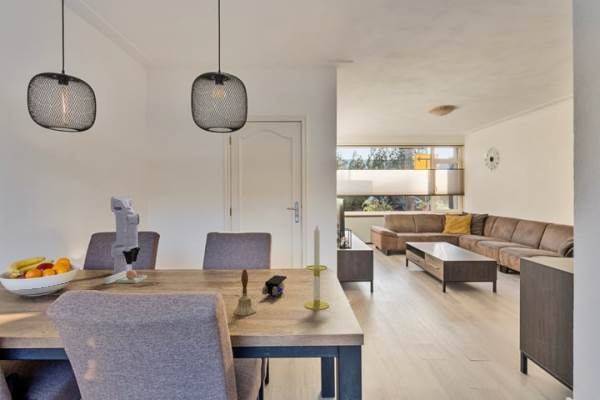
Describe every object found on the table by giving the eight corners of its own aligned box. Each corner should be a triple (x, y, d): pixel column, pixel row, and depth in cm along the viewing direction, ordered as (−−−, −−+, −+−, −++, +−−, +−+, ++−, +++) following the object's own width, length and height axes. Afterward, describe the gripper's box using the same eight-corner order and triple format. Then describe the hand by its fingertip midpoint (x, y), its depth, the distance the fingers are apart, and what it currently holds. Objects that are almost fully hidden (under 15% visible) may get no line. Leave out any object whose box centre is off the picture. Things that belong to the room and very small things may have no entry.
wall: (124, 276, 180) (124, 270, 180) (126, 276, 179) (126, 271, 179) (105, 283, 164) (105, 277, 164) (107, 283, 163) (107, 277, 163)
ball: (127, 279, 173) (127, 269, 173) (137, 278, 174) (137, 269, 174) (124, 280, 168) (124, 270, 168) (135, 279, 169) (135, 270, 169)
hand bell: (229, 311, 123) (229, 269, 123) (247, 306, 129) (247, 266, 129) (242, 317, 117) (241, 273, 117) (260, 311, 123) (260, 269, 123)
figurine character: (276, 304, 136) (287, 290, 151) (276, 286, 136) (287, 274, 150) (261, 302, 138) (274, 289, 153) (260, 285, 137) (273, 273, 152)
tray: (128, 277, 177) (128, 275, 177) (146, 278, 176) (146, 275, 176) (115, 282, 166) (115, 279, 166) (135, 283, 165) (135, 280, 165)
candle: (308, 311, 124) (308, 225, 124) (301, 303, 133) (301, 223, 133) (333, 308, 126) (333, 225, 126) (324, 300, 136) (324, 223, 136)
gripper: (128, 235, 177) (128, 260, 177) (118, 238, 163) (118, 266, 163) (141, 235, 179) (141, 260, 179) (133, 238, 164) (133, 265, 164)
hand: (131, 262), depth 171 cm, fingers open, 7 cm apart
